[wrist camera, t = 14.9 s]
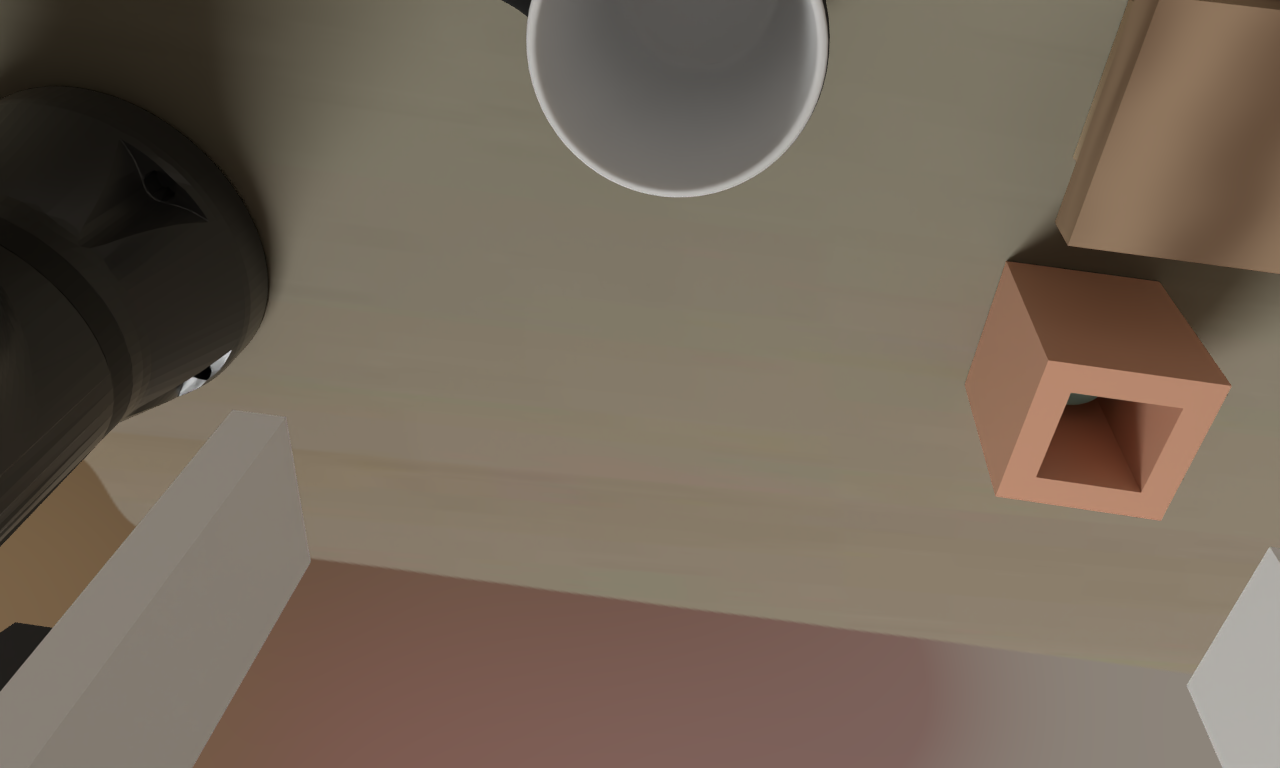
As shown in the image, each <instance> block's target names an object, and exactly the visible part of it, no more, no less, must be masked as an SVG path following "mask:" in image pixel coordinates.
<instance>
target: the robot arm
mask: <svg viewBox="0 0 1280 768" xmlns="http://www.w3.org/2000/svg"><path fill="white" fill-rule="evenodd" d="M267 294H268V275H267V266H266V261H265V255H264V251H263V248H262V244H261V241H260V238H259V235H258V232H257V230H256V228H255V225H254V223H253V221H252V219H251V217H250V215H249V213H248V211H247V209H246V207H245V205H244V204H243V202H242V200H241V199H240V197H239V196H238V194H237V192H236V191H235V189H234V188H233V187H232V185H231V184H230V183H229V181H228V180H227V179H226V177H225V176H224V175H223V174H222V172H221V171H220V170H219V169H218V168H217V167H216V165H215V164H214V163H213V162H212V161H211V160H210V159H209V158H208V157H207V156H206V155H205V154H204V153H203V152H202V151H201V150H200V149H199V148H198V147H197V146H195V145H194V144H193V143H192V142H191V141H190V140H188V139H187V138H186V137H185V136H183V135H182V134H181V133H180V132H178V131H177V130H176V129H174V128H173V127H171V126H170V125H168V124H167V123H165V122H164V121H162V120H161V119H159V118H157V117H156V116H154V115H153V114H151V113H149V112H147V111H145V110H143V109H141V108H139V107H137V106H135V105H133V104H131V103H129V102H126V101H124V100H121V99H119V98H116V97H113V96H110V95H107V94H104V93H100V92H96V91H92V90H87V89H81V88H75V87H64V86H49V87H38V88H32V89H27V90H23V91H19V92H17V93H14V94H11V95H9V96H7V97H4V98H2V99H0V546H1V545H2V544H3V543H4V542H5V541H6V540H7V539H8V538H9V537H10V536H11V535H12V534H13V533H14V532H15V531H16V529H17V528H18V527H19V526H20V525H21V524H22V523H23V522H24V521H25V520H26V519H27V518H28V517H29V516H30V515H31V514H32V513H33V512H34V511H35V509H36V508H37V507H38V506H39V505H40V504H41V503H42V502H43V501H44V500H45V499H46V498H47V497H48V496H49V495H50V494H51V493H52V492H53V490H54V489H55V488H56V487H57V486H58V485H59V484H60V483H61V482H62V481H63V480H64V479H65V478H66V477H67V476H68V475H69V474H70V473H71V472H72V471H73V470H74V469H75V467H76V466H77V465H78V464H79V463H80V462H81V461H82V460H83V459H84V458H85V457H86V456H87V455H88V454H89V453H90V452H91V451H92V450H93V449H94V448H95V446H96V445H97V444H98V443H99V442H100V441H101V440H102V439H103V438H104V437H105V436H106V435H107V434H108V433H109V432H110V431H111V430H112V429H113V428H114V427H115V426H116V425H117V424H118V423H119V422H122V421H124V420H126V419H129V418H131V417H133V416H136V415H138V414H140V413H143V412H145V411H147V410H149V409H152V408H154V407H156V406H159V405H161V404H163V403H166V402H168V401H170V400H172V399H174V398H176V397H178V396H181V395H184V394H186V393H189V392H191V391H193V390H195V389H197V388H200V387H201V386H203V385H205V384H207V383H208V382H210V381H211V380H212V379H214V378H215V377H217V376H218V375H219V374H220V373H221V372H223V371H224V370H225V369H226V368H227V367H228V366H229V365H230V364H231V362H232V361H233V360H234V359H235V358H236V357H237V356H238V355H239V354H240V353H241V351H242V350H243V349H244V348H245V347H246V346H247V345H248V343H249V342H250V341H251V340H252V338H253V337H254V335H255V333H256V332H257V330H258V328H259V326H260V323H261V321H262V318H263V315H264V311H265V307H266V302H267ZM310 562H311V560H310V554H309V548H308V542H307V536H306V530H305V525H304V519H303V513H302V507H301V501H300V495H299V489H298V483H297V477H296V471H295V465H294V459H293V453H292V447H291V442H290V436H289V430H288V424H287V418H286V417H284V416H276V415H269V414H261V413H254V412H246V411H239V410H232V411H231V412H230V414H229V415H228V416H227V417H226V418H225V420H224V421H223V422H222V423H221V424H220V426H219V427H218V428H217V429H216V430H215V432H214V433H213V434H212V435H211V437H210V438H209V439H208V440H207V441H206V443H205V444H204V445H203V446H202V447H201V449H200V450H199V451H198V452H197V454H196V455H195V456H194V457H193V458H192V460H191V461H190V462H189V463H188V464H187V466H186V467H185V468H184V469H183V471H182V472H181V473H180V474H179V475H178V477H177V478H176V479H175V480H174V481H173V483H172V484H171V485H170V486H169V488H168V489H167V490H166V491H165V492H164V494H163V495H162V496H161V497H160V498H159V500H158V501H157V502H156V503H155V505H154V506H153V507H152V508H151V509H150V511H149V512H148V513H147V514H146V515H145V517H144V518H143V519H142V520H141V521H140V523H139V524H138V525H137V526H136V528H135V529H134V530H133V531H132V533H131V534H130V535H129V536H128V537H127V539H126V540H125V541H124V542H123V543H122V545H121V546H120V547H119V548H118V549H117V551H116V552H115V553H114V554H113V556H112V557H111V558H110V559H109V560H108V562H107V563H106V564H105V565H104V566H103V568H102V569H101V570H100V571H99V572H98V574H97V575H96V576H95V577H94V579H93V580H92V581H91V582H90V583H89V585H88V586H87V587H86V588H85V589H84V591H83V592H82V593H81V594H80V595H79V597H78V598H77V599H76V600H75V602H74V603H73V604H72V605H71V606H70V608H69V609H68V610H67V611H66V612H65V614H64V615H63V616H62V617H61V619H60V620H59V621H58V622H57V624H56V625H55V626H54V627H53V628H50V627H43V626H35V625H29V624H22V623H14V624H12V625H11V626H9V627H8V628H7V629H5V630H4V631H2V632H0V768H192V767H193V765H194V764H195V762H196V760H197V758H198V757H199V755H200V753H201V751H202V750H203V748H204V746H205V745H206V743H207V741H208V739H209V738H210V736H211V734H212V732H213V731H214V729H215V727H216V725H217V724H218V722H219V720H220V718H221V717H222V715H223V713H224V711H225V710H226V708H227V706H228V705H229V703H230V701H231V699H232V698H233V696H234V694H235V692H236V691H237V689H238V687H239V685H240V684H241V682H242V680H243V678H244V677H245V675H246V673H247V671H248V670H249V668H250V666H251V665H252V663H253V661H254V659H255V658H256V656H257V654H258V652H259V651H260V649H261V647H262V645H263V644H264V642H265V640H266V639H267V636H268V635H269V633H270V632H271V630H272V628H273V626H274V624H275V623H276V621H277V619H278V618H279V616H280V614H281V612H282V611H283V609H284V607H285V605H286V604H287V602H288V600H289V599H290V597H291V595H292V593H293V591H294V590H295V588H296V586H297V584H298V583H299V581H300V579H301V578H302V576H303V574H304V572H305V571H306V569H307V567H308V566H309V564H310ZM1187 687H1188V690H1189V692H1190V694H1191V697H1192V699H1193V701H1194V703H1195V706H1196V708H1197V710H1198V713H1199V715H1200V717H1201V720H1202V722H1203V724H1204V727H1205V729H1206V731H1207V733H1208V736H1209V738H1210V740H1211V743H1212V745H1213V747H1214V750H1215V752H1216V754H1217V757H1218V759H1219V761H1220V763H1221V766H1222V768H1280V548H1276V547H1269V549H1268V550H1267V552H1266V554H1265V555H1264V557H1263V559H1262V560H1261V562H1260V564H1259V565H1258V567H1257V569H1256V570H1255V572H1254V574H1253V575H1252V577H1251V579H1250V580H1249V582H1248V584H1247V585H1246V587H1245V589H1244V590H1243V592H1242V594H1241V595H1240V597H1239V599H1238V600H1237V602H1236V604H1235V605H1234V607H1233V609H1232V611H1231V612H1230V614H1229V616H1228V617H1227V619H1226V621H1225V622H1224V624H1223V626H1222V627H1221V629H1220V631H1219V632H1218V634H1217V636H1216V637H1215V639H1214V641H1213V642H1212V644H1211V646H1210V647H1209V649H1208V651H1207V652H1206V654H1205V656H1204V657H1203V659H1202V661H1201V662H1200V664H1199V666H1198V667H1197V669H1196V671H1195V672H1194V674H1193V676H1192V677H1191V679H1190V681H1189V682H1188V684H1187Z"/></svg>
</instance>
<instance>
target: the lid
mask: <svg viewBox="0 0 1280 768" xmlns="http://www.w3.org/2000/svg"><path fill="white" fill-rule="evenodd" d="M1055 224H1056V225H1057V227H1058V229H1059V231H1060V233H1061V234H1062V236H1063V238H1064V240H1065V242H1066V243H1067V245H1068V246H1074V247H1082V248H1089V249H1097V250H1104V251H1112V252H1119V253H1127V254H1134V255H1142V256H1149V257H1157V258H1164V259H1172V260H1179V261H1187V262H1194V263H1202V264H1210V265H1217V266H1225V267H1232V268H1240V269H1247V270H1255V271H1262V272H1270V273H1277V274H1280V0H1134V3H1133V6H1132V9H1131V11H1130V14H1129V17H1128V20H1127V22H1126V25H1125V28H1124V31H1123V34H1122V36H1121V39H1120V42H1119V45H1118V48H1117V50H1116V53H1115V56H1114V59H1113V62H1112V64H1111V67H1110V70H1109V73H1108V76H1107V78H1106V81H1105V84H1104V87H1103V89H1102V92H1101V95H1100V98H1099V101H1098V103H1097V106H1096V109H1095V112H1094V115H1093V117H1092V120H1091V123H1090V126H1089V129H1088V131H1087V134H1086V137H1085V140H1084V142H1083V145H1082V148H1081V151H1080V154H1079V156H1078V159H1077V162H1076V165H1075V168H1074V170H1073V173H1072V176H1071V179H1070V182H1069V184H1068V187H1067V190H1066V193H1065V196H1064V198H1063V201H1062V204H1061V207H1060V209H1059V212H1058V215H1057V218H1056V221H1055Z"/></svg>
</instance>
